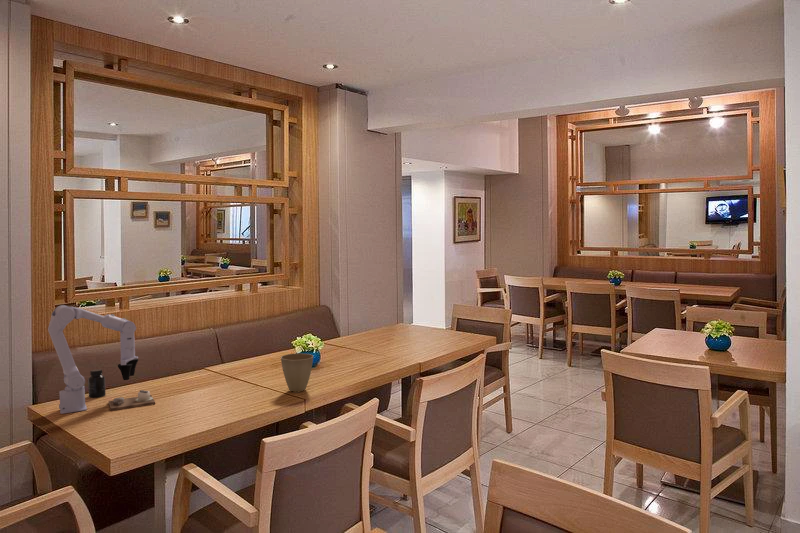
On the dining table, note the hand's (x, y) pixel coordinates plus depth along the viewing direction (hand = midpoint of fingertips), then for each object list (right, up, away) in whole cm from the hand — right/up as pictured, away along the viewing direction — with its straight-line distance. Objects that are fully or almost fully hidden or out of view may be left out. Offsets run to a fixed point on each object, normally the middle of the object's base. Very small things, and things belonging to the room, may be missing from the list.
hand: (128, 377), depth 247 cm
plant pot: (+73, -8, +12) cm, 74 cm away
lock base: (+4, -10, -6) cm, 12 cm away
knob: (+8, -9, -3) cm, 12 cm away
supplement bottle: (-18, -10, +7) cm, 21 cm away
